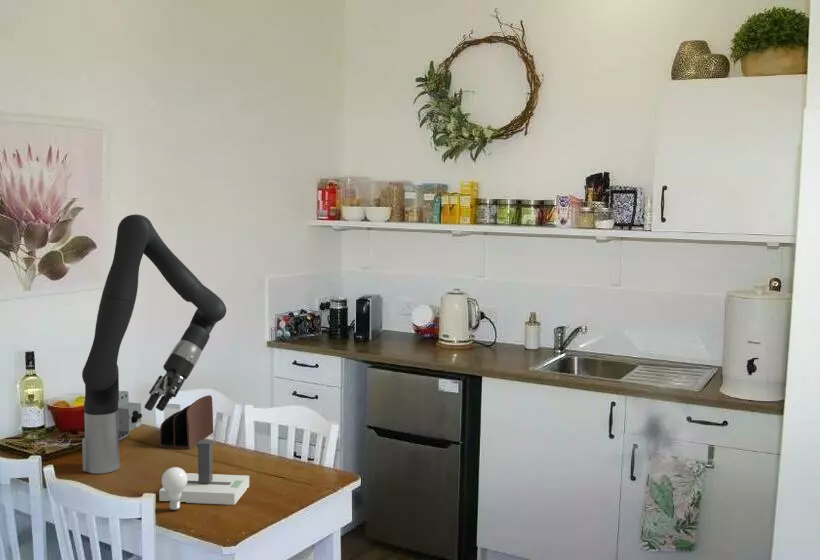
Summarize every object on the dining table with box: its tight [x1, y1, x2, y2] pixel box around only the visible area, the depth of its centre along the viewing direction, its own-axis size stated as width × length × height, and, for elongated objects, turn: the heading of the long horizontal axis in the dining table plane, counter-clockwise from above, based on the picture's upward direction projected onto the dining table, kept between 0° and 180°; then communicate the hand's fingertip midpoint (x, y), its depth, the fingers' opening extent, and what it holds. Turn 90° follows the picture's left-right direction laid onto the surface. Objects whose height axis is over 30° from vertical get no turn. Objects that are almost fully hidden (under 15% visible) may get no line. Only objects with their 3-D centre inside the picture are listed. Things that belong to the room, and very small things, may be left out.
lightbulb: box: [161, 466, 188, 511], centre depth 208 cm, size 6×6×11 cm
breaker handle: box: [196, 439, 214, 483], centre depth 219 cm, size 3×3×11 cm
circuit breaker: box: [118, 390, 143, 441], centre depth 269 cm, size 8×14×15 cm, turn 78°
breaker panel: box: [158, 472, 250, 506], centre depth 220 cm, size 20×14×3 cm
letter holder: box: [159, 394, 214, 450], centre depth 268 cm, size 10×20×14 cm, turn 171°
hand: (153, 409), depth 227 cm, fingers open, 8 cm apart
